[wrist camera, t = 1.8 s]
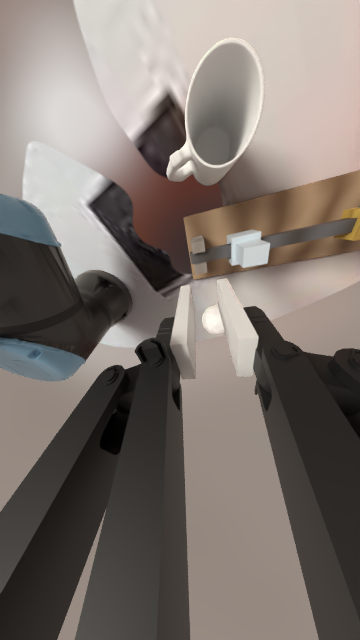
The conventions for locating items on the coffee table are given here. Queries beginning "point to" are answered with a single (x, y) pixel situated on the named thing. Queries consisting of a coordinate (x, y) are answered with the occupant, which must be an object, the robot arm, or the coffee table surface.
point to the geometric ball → (213, 320)
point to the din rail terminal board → (280, 225)
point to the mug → (220, 112)
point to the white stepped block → (248, 249)
